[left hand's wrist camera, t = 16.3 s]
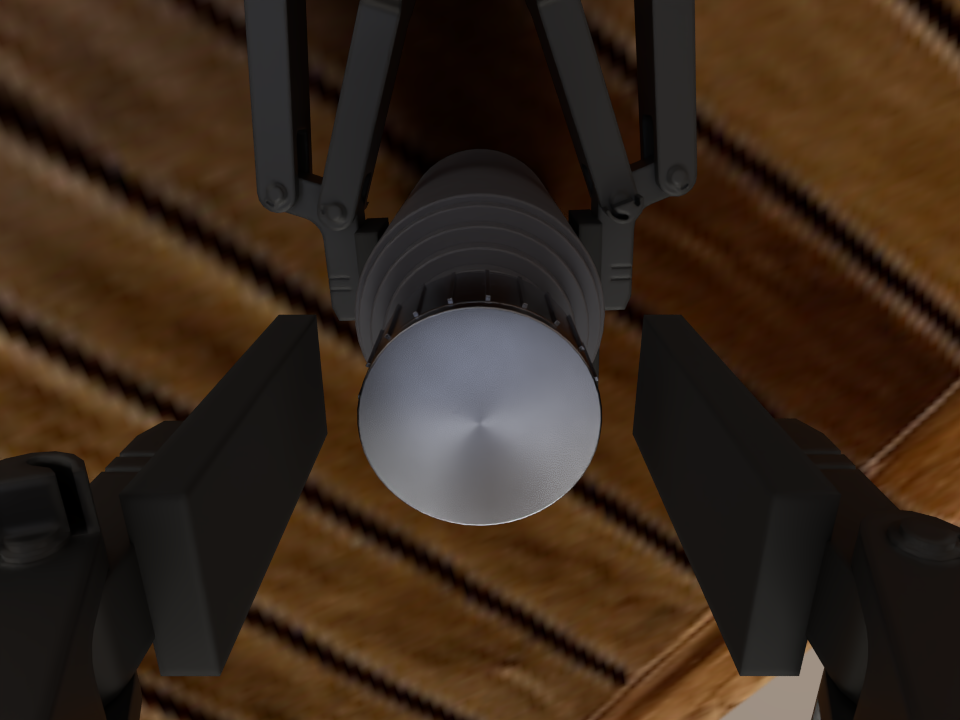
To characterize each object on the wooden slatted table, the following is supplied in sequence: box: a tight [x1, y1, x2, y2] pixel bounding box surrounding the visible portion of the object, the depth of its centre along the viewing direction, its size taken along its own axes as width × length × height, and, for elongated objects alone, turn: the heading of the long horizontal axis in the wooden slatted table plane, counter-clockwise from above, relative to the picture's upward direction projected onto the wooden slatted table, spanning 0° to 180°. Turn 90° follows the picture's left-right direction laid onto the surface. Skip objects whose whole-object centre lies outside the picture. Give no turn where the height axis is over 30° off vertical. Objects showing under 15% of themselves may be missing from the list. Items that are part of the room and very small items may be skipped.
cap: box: [357, 269, 602, 526], centre depth 13 cm, size 4×4×2 cm
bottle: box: [355, 149, 605, 363], centre depth 21 cm, size 6×6×18 cm
